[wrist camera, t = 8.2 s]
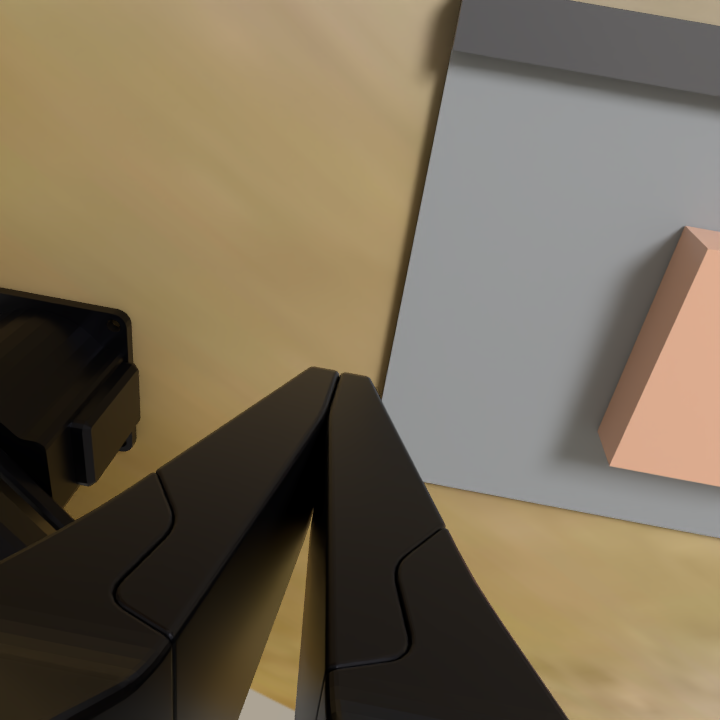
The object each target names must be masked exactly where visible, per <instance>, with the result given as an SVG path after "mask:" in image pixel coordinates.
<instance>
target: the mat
mask: <svg viewBox="0 0 720 720" xmlns="http://www.w3.org/2000/svg"><path fill="white" fill-rule="evenodd" d="M685 226H690V227H695V228H701V229H706V230H712V231H718V232H720V97H719V96H713V95H708V94H702V93H696V92H690V91H685V90H679V89H673V88H667V87H662V86H656V85H650V84H645V83H639V82H633V81H627V80H622V79H616V78H610V77H604V76H599V75H593V74H587V73H581V72H576V71H570V70H564V69H558V68H553V67H547V66H541V65H535V64H530V63H524V62H518V61H512V60H507V59H501V58H495V57H489V56H484V55H478V54H472V53H466V52H461V51H455V50H453V49H452V51H451V56H450V61H449V66H448V71H447V76H446V81H445V86H444V91H443V96H442V101H441V106H440V111H439V116H438V121H437V126H436V131H435V136H434V141H433V146H432V151H431V156H430V161H429V166H428V171H427V176H426V181H425V186H424V191H423V196H422V201H421V206H420V211H419V216H418V221H417V226H416V231H415V236H414V241H413V246H412V251H411V256H410V261H409V266H408V271H407V276H406V281H405V286H404V291H403V296H402V301H401V306H400V311H399V316H398V321H397V326H396V331H395V336H394V341H393V346H392V351H391V356H390V361H389V366H388V371H387V376H386V381H385V386H384V391H383V396H382V403H383V404H384V406H385V408H386V410H387V412H388V414H389V416H390V418H391V420H392V422H393V424H394V426H395V428H396V430H397V432H398V434H399V436H400V438H401V440H402V442H403V443H404V445H405V447H406V449H407V451H408V453H409V455H410V457H411V459H412V461H413V463H414V465H415V467H416V469H417V471H418V473H419V475H420V477H421V479H422V481H423V482H427V483H432V484H437V485H442V486H448V487H453V488H458V489H463V490H469V491H474V492H479V493H485V494H490V495H495V496H500V497H506V498H511V499H516V500H521V501H527V502H532V503H537V504H542V505H548V506H553V507H558V508H564V509H569V510H574V511H579V512H585V513H590V514H595V515H600V516H606V517H611V518H616V519H622V520H627V521H632V522H637V523H643V524H648V525H653V526H658V527H664V528H669V529H674V530H680V531H685V532H690V533H695V534H701V535H706V536H711V537H716V538H720V487H718V486H713V485H708V484H702V483H697V482H692V481H686V480H681V479H676V478H670V477H665V476H660V475H654V474H649V473H644V472H638V471H633V470H628V469H623V468H617V467H612V466H609V464H608V461H607V458H606V455H605V452H604V449H603V446H602V443H601V440H600V437H599V434H598V429H599V426H600V424H601V422H602V419H603V417H604V415H605V412H606V410H607V408H608V405H609V403H610V401H611V398H612V396H613V394H614V391H615V389H616V387H617V384H618V382H619V380H620V377H621V375H622V373H623V370H624V368H625V365H626V363H627V361H628V358H629V356H630V354H631V351H632V349H633V347H634V344H635V342H636V340H637V337H638V335H639V333H640V330H641V328H642V326H643V323H644V321H645V319H646V316H647V314H648V312H649V309H650V307H651V305H652V302H653V300H654V297H655V295H656V293H657V290H658V288H659V286H660V283H661V281H662V279H663V276H664V274H665V272H666V269H667V267H668V265H669V262H670V260H671V258H672V255H673V253H674V251H675V248H676V246H677V244H678V241H679V239H680V237H681V234H682V232H683V229H684V227H685Z"/></svg>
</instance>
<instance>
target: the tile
mask: <svg viewBox="0 0 720 720" xmlns="http://www.w3.org/2000/svg"><path fill="white" fill-rule="evenodd" d="M598 434H599V437H600V440H601V443H602V446H603V449H604V452H605V455H606V458H607V461H608V464H609V466H612V467H617V468H623V469H628V470H633V471H638V472H644V473H649V474H654V475H660V476H665V477H670V478H676V479H681V480H686V481H692V482H697V483H702V484H708V485H713V486H718V487H720V232H718V231H712V230H706V229H701V228H695V227H690V226H685V227H684V229H683V232H682V234H681V237H680V239H679V241H678V244H677V246H676V248H675V251H674V253H673V255H672V258H671V260H670V262H669V265H668V267H667V269H666V272H665V274H664V276H663V279H662V281H661V283H660V286H659V288H658V290H657V293H656V295H655V297H654V300H653V302H652V305H651V307H650V309H649V312H648V314H647V316H646V319H645V321H644V323H643V326H642V328H641V330H640V333H639V335H638V337H637V340H636V342H635V344H634V347H633V349H632V351H631V354H630V356H629V358H628V361H627V363H626V365H625V368H624V370H623V373H622V375H621V377H620V380H619V382H618V384H617V387H616V389H615V391H614V394H613V396H612V398H611V401H610V403H609V405H608V408H607V410H606V412H605V415H604V417H603V419H602V422H601V424H600V426H599V429H598Z"/></svg>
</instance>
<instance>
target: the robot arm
mask: <svg viewBox="0 0 720 720" xmlns="http://www.w3.org/2000/svg"><path fill="white" fill-rule="evenodd" d="M112 320H115V321H117V322H118V323H119V324H120V327H117V326H115V325H114V324H113V322H112ZM139 421H140V395H139V371H138V369H137V367H136V365H135V364H134V363H133V349H132V326H131V320H130V318H129V316H128V315H127V314H126V313H125V312H123V311H121V310H118V309H114V308H108V307H103V306H98V305H92V304H87V303H82V302H76V301H71V300H65V299H60V298H55V297H49V296H44V295H38V294H33V293H28V292H22V291H17V290H11V289H6V288H1V287H0V720H238V718H239V715H240V713H241V710H242V707H243V705H244V702H245V699H246V697H247V694H248V691H249V689H250V686H251V683H252V680H253V678H254V675H255V672H256V670H257V667H258V664H259V662H260V659H261V656H262V653H263V651H264V648H265V645H266V643H267V640H268V637H269V634H270V632H271V629H272V626H273V624H274V621H275V618H276V615H277V613H278V610H279V607H280V605H281V602H282V599H283V597H284V594H285V591H286V588H287V586H288V583H289V580H290V578H291V575H292V572H293V569H294V567H295V564H296V561H297V559H298V556H299V553H300V550H301V548H302V545H303V542H304V540H305V537H306V534H307V531H308V528H309V525H310V521H311V517H312V523H311V532H310V540H309V552H308V564H307V577H306V589H305V601H304V613H303V625H302V637H301V649H300V661H299V673H298V685H297V697H296V709H295V720H569V719H568V718H567V716H566V715H565V713H564V712H563V710H562V709H561V707H560V706H559V705H558V703H557V702H556V700H555V699H554V697H553V696H552V694H551V693H550V691H549V690H548V689H547V687H546V686H545V684H544V683H543V681H542V680H541V678H540V677H539V675H538V674H537V672H536V671H535V670H534V668H533V667H532V665H531V664H530V662H529V661H528V659H527V658H526V656H525V655H524V654H523V652H522V651H521V649H520V648H519V646H518V645H517V643H516V642H515V640H514V639H513V638H512V636H511V635H510V633H509V632H508V630H507V629H506V627H505V626H504V624H503V623H502V621H501V620H500V618H499V617H498V615H497V614H496V612H495V611H494V609H493V608H492V606H491V605H490V603H489V601H488V600H487V598H486V597H485V595H484V594H483V592H482V591H481V589H480V587H479V586H478V584H477V583H476V581H475V579H474V577H473V576H472V574H471V572H470V570H469V568H468V567H467V565H466V563H465V561H464V559H463V558H462V556H461V554H460V552H459V551H458V549H457V547H456V545H455V543H454V541H453V539H452V537H451V535H450V533H449V531H448V530H447V529H446V528H445V523H444V521H443V520H442V518H441V516H440V514H439V512H438V510H437V508H436V506H435V504H434V502H433V500H432V498H431V496H430V494H429V492H428V490H427V488H426V486H425V484H424V482H423V481H422V479H421V477H420V475H419V473H418V471H417V469H416V467H415V465H414V463H413V461H412V459H411V457H410V455H409V453H408V451H407V449H406V447H405V445H404V443H403V442H402V440H401V438H400V436H399V434H398V432H397V430H396V428H395V426H394V424H393V422H392V420H391V418H390V416H389V414H388V412H387V410H386V408H385V406H384V404H383V403H382V401H381V399H380V397H379V395H378V393H377V391H376V389H375V387H374V385H373V383H372V381H371V379H370V378H369V377H367V376H363V375H357V374H352V373H342V374H341V375H340V377H339V373H338V372H337V371H335V370H330V369H325V368H319V367H310V368H308V369H306V370H305V371H303V372H302V373H300V374H299V375H297V376H296V377H294V378H293V379H292V380H290V381H289V382H287V383H286V384H284V385H283V386H281V387H280V388H278V389H277V390H275V391H274V392H272V393H271V394H269V395H268V396H266V397H265V398H263V399H262V400H260V401H259V402H257V403H256V404H254V405H253V406H251V407H250V408H248V409H247V410H245V411H244V412H242V413H241V414H239V415H238V416H236V417H235V418H233V419H232V420H230V421H229V422H227V423H226V424H224V425H223V426H221V427H220V428H218V429H217V430H215V431H214V432H212V433H211V434H209V435H208V436H206V437H205V438H203V439H202V440H200V441H199V442H197V443H196V444H194V445H193V446H191V447H190V448H189V449H187V450H186V451H184V452H183V453H181V454H180V455H178V456H177V457H175V458H174V459H172V460H171V461H169V462H168V463H166V464H165V465H163V466H162V467H160V468H159V469H157V471H156V473H151V474H149V475H148V476H146V477H145V478H143V479H142V480H140V481H139V482H137V483H136V484H134V485H133V486H131V487H130V488H128V489H127V490H125V491H123V492H122V493H120V494H119V495H117V496H115V497H114V498H112V499H111V500H109V501H108V502H106V503H104V504H103V505H101V506H100V507H98V508H96V509H95V510H93V511H91V512H89V513H88V514H86V515H84V516H82V517H81V518H79V519H77V520H74V519H73V518H72V517H71V516H70V515H69V514H68V513H67V512H66V511H65V510H64V509H63V508H64V507H65V505H66V504H67V503H68V501H69V500H70V498H71V497H72V496H73V494H74V493H75V492H76V490H77V489H78V487H79V486H80V485H84V486H91V485H93V484H94V483H96V482H97V481H98V479H99V478H100V476H101V475H102V474H103V472H104V471H105V469H106V468H107V466H108V465H109V464H110V462H111V461H112V459H113V458H114V456H115V455H116V454H117V452H118V451H128V450H130V449H131V448H132V447H133V445H134V444H135V442H136V425H137V423H138V422H139ZM312 514H313V516H312Z"/></svg>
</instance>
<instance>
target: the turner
mask: <svg viewBox="0 0 720 720" xmlns="http://www.w3.org/2000/svg"><path fill="white" fill-rule="evenodd" d="M452 49H453V50H455V51H461V52H466V53H472V54H478V55H484V56H489V57H495V58H501V59H507V60H512V61H518V62H524V63H530V64H535V65H541V66H547V67H553V68H558V69H564V70H570V71H576V72H581V73H587V74H593V75H599V76H604V77H610V78H616V79H622V80H627V81H633V82H639V83H645V84H650V85H656V86H662V87H667V88H673V89H679V90H685V91H690V92H696V93H702V94H708V95H713V96H719V97H720V26H716V25H710V24H704V23H699V22H693V21H687V20H681V19H675V18H669V17H664V16H658V15H652V14H646V13H640V12H634V11H629V10H623V9H617V8H611V7H605V6H599V5H594V4H588V3H582V2H576V1H570V0H462V1H461V6H460V11H459V16H458V21H457V26H456V31H455V36H454V41H453V46H452Z"/></svg>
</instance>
